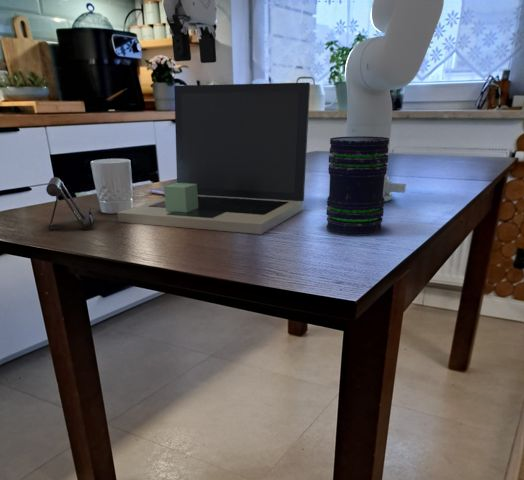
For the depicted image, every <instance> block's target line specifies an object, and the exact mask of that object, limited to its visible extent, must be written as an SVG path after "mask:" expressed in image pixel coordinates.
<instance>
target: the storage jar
mask: <svg viewBox="0 0 524 480" xmlns="http://www.w3.org/2000/svg"><path fill="white" fill-rule="evenodd" d="M388 144H389V138H385V137H366V136H355V137H346V136H338V137H336V136H335V137H330V138H329V145H330V147H329V155H328V168H327V170H328V174H329V187H328V188H329V190H328V192H329V193H328V196H327V199H326V221H327V224H326V231H327V232H328V233H331V234H336V235H340V236H348V237H349V236H351V237H363V236H371V235H376V234H379V233H381V232H382V228H383V227H382V222H383V217H384V211H385V208H384V206H385V202H384V198H383V189H384V177H385V175H386V173H387V174H388V167H387V164H385V163H388V164H389V156H388V155H386V154H387V153H388Z"/></svg>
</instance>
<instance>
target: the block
mask: <svg viewBox="0 0 524 480" xmlns="http://www.w3.org/2000/svg"><path fill="white" fill-rule="evenodd" d="M163 187H164V195H163V196H164V198H165V206H166V211H171V212H184V213H187V212H190V211H192V210H195V209H198V193H197V184H189V183H177V182H175V183H171V184H168V185H164V186H163Z"/></svg>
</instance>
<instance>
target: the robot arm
mask: <svg viewBox="0 0 524 480" xmlns="http://www.w3.org/2000/svg"><path fill="white" fill-rule="evenodd" d="M444 3H445V0H373V2H372V4H371V9H370V21H371V24H372V25H373V28H375V30H377V32H379V33H382V34H384V35H380V36H379V35H378V36H374V37H369V38H366V39H364V40H361V41H359V42H358V43H357V44H356V45H355V46H354V47H353V48H352V49H351V51H350V52H349V54H348V56H347V59H346V62H345V71H344V73H345V85H346V95H347V99H346V100H347V101H346V103H347V106H346V108H347V109H346V111H347V112H346V127H345V137H355V136H366V137H385V138H389V144H388V153H387V154H386V155H388V157H389V156H390V155H389V154H390V143H391V133H392V132H391V131H392V123H393V101H392V95H391V91H396V90H401V89H403V88H405V87H407V86H408V85H409V84H411V83H412V81H414V79H415V78H416V77H417V75H418V73H419V71H420V69H421V67H422V65H423V62H424V60H425V57H426V55H427V52H428V50H429V47H430V45H431V42H432V40H433V37H434V35H435V32H436V30H437V27H438V25H439V22H440V19H441V16H442V14H443V10H444ZM162 7H163V11H164V13H165V15H166V22H167V25H168V26H169V34H170V35H171V41H172V42H171V43H172V53H173V60H174V61H175V62H189V61H192V52H191V39H190V33H187V32H188V28H189V27H196V29H197V32H198V34H199V37H200V38H198V47H199V49H198V50H199V58H200V59H199V62H200V63H201V64H211V63H212V64H213V63H216V62H217V47H216V38H217V33H216V30H217V26H218V25H217V22H218V10H217V9H218V8H217V0H163V2H162ZM385 164H387V168H388V166H389V162H388V163H385ZM390 179H391V177H390V176H388V172H387V173H386V175H385V177H384V189H383V198H384V203H385V202H388V201H391V200H392V199H393V193H397V194H399V193H400V194H405V193H406V189H407V184H406V183H402V182H396V183H395V182H392V181H390Z"/></svg>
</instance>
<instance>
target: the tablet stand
mask: <svg viewBox="0 0 524 480" xmlns="http://www.w3.org/2000/svg"><path fill="white" fill-rule="evenodd" d="M45 190H46V193H47V195H49V196H50V197H55V202H54V206H53V210H52V214H51V218H50V222H49V226H48V231H50V230H51V228H52V224H53V222H54V217H55V213H56V209H57V206H58V202H59V197H60V196H61V197H62V198H63V200H64V201H65V202H66V204H67V205H68V208H69V209H70V210H71V212H72V213H73V215H74V217H75V218H76V219H77V221H78V222H79V224H80V226H81V227H82V228H83V229H84V230H86V231H87V230H88V231H89V230H91V229H92V228H93V225H94V219H93V218H94V217H93V212H92V208H88V213H87V214H84V212H82V211H81V209H80V208H79V206H78V204H77V203H76V202H75V200H74V197H72V196H71V194H70V192H69V191H68V189H67V188H66V186H65V185H64V182H63V181H62V180H61V179H60V177H56V176H53V177H51V178H50V180H49V182H48V183H47V185H46V188H45ZM64 192H65V193H64ZM66 195H67V196H66ZM68 198H69V199H68ZM73 206H74V207H73ZM79 215H80V216H79Z"/></svg>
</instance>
